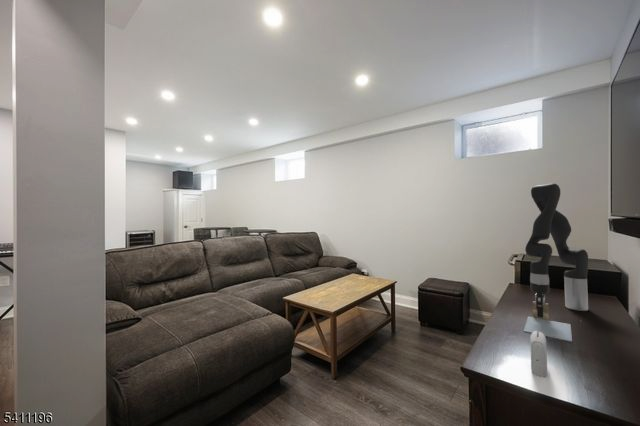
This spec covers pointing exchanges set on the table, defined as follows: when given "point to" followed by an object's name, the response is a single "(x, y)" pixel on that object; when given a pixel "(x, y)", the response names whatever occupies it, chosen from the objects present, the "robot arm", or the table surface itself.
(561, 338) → the mat
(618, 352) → the table surface
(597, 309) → the table surface
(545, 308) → the tile
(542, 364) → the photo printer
